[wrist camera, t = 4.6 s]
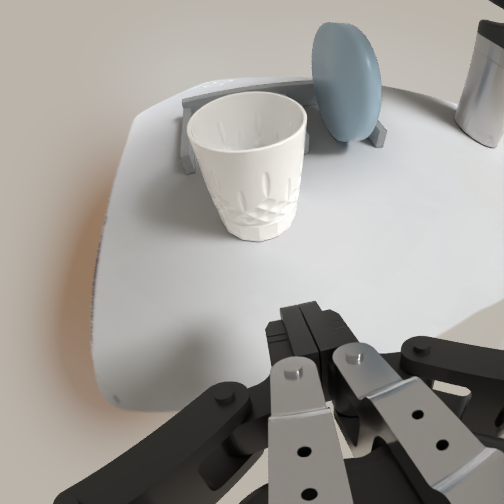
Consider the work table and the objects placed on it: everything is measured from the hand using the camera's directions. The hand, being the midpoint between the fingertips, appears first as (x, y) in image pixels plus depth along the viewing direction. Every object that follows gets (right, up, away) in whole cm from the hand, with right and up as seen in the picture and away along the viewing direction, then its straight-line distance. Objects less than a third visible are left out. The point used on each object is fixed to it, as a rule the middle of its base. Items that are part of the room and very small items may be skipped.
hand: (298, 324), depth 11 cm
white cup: (-1, +7, +14) cm, 16 cm away
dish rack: (+2, +17, +20) cm, 26 cm away
